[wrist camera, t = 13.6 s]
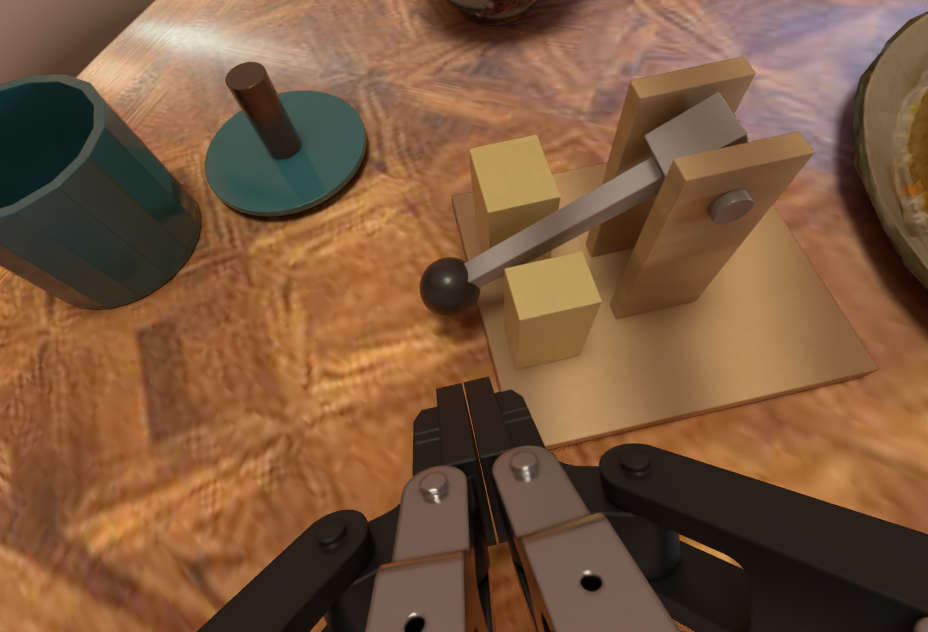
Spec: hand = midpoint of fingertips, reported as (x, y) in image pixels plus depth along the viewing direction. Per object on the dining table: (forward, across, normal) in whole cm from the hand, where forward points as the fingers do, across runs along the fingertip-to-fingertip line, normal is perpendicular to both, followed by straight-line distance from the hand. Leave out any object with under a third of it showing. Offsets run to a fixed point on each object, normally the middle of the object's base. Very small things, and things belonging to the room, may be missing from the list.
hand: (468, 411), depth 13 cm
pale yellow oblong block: (+15, -4, -1) cm, 16 cm away
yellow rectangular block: (+11, -4, +3) cm, 12 cm away
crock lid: (+24, +8, -9) cm, 27 cm away
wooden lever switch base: (+14, -11, +2) cm, 18 cm away
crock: (+22, +20, -6) cm, 30 cm away
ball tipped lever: (+10, -6, -2) cm, 12 cm away
